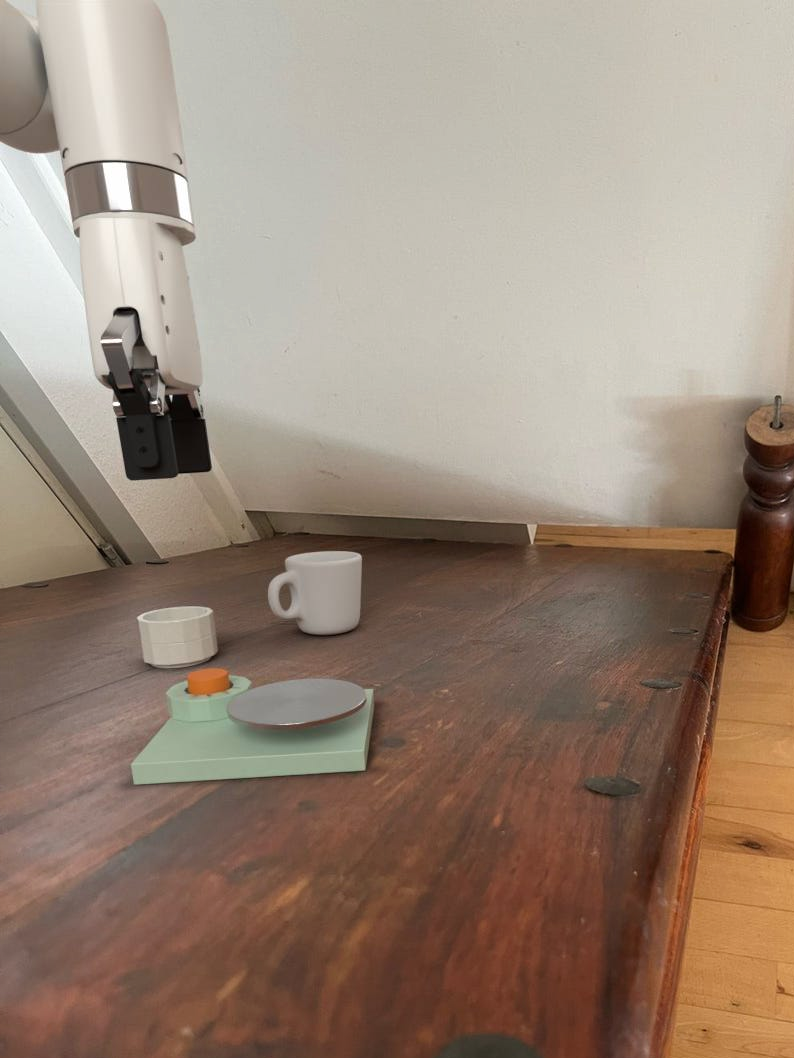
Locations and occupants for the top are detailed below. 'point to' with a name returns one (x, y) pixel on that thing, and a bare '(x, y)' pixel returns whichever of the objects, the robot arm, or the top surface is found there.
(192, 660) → the bowl
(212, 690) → the power button
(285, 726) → the platter
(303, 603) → the cup
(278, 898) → the top surface
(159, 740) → the scale
